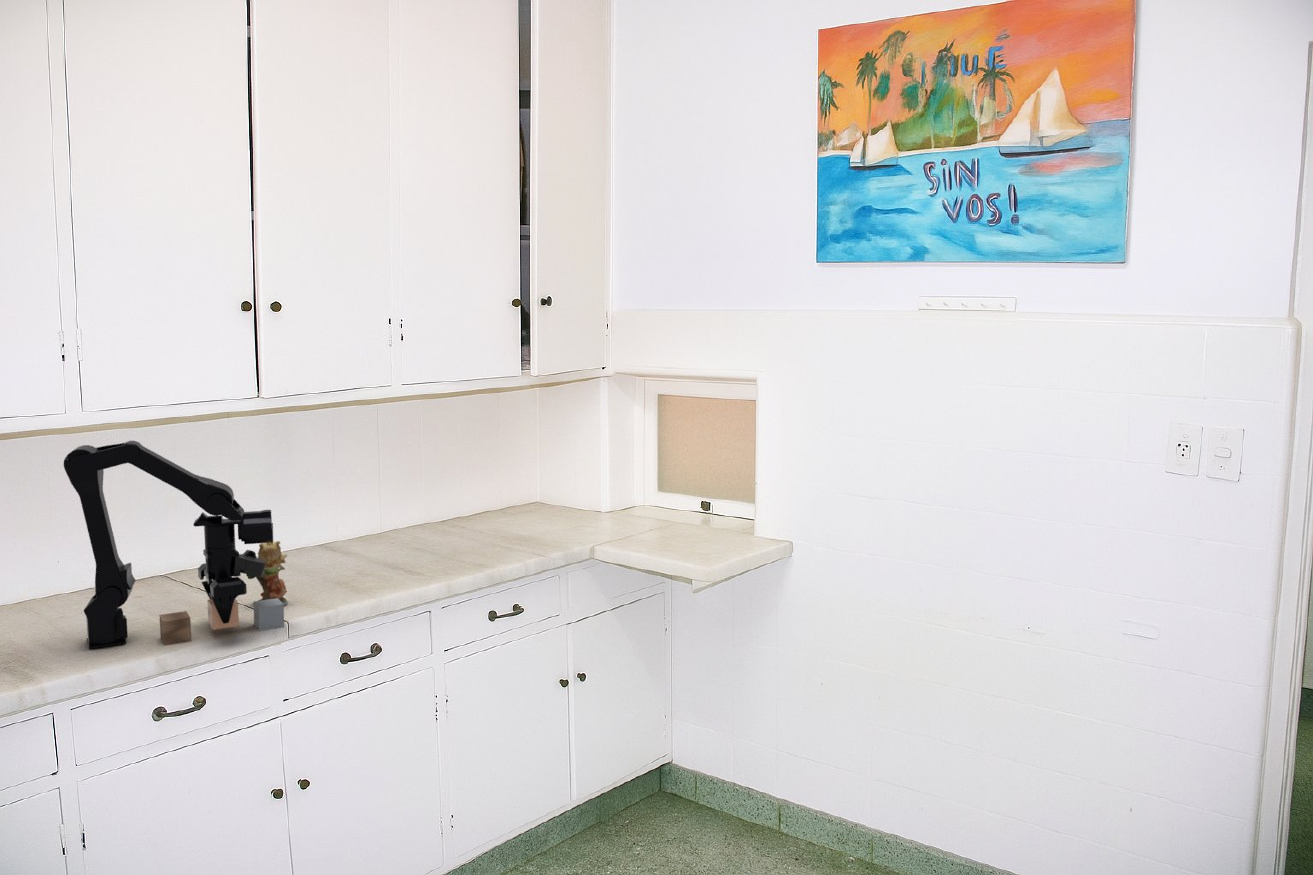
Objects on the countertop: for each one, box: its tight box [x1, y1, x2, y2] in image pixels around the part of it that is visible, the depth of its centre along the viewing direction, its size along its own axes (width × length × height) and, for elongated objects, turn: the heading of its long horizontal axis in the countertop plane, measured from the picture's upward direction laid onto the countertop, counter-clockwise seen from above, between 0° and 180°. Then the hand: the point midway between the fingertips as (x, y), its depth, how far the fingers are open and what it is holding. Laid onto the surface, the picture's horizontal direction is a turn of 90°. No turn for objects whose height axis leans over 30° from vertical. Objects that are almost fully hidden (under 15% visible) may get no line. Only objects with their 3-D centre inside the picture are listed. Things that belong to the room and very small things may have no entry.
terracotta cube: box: [206, 598, 240, 631], centre depth 210 cm, size 5×5×5 cm
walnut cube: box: [158, 610, 192, 646], centre depth 206 cm, size 5×5×5 cm
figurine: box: [245, 540, 288, 606], centre depth 229 cm, size 9×8×15 cm
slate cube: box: [252, 598, 285, 631], centre depth 215 cm, size 5×5×5 cm
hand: (223, 619), depth 210 cm, fingers closed on terracotta cube, 5 cm apart
